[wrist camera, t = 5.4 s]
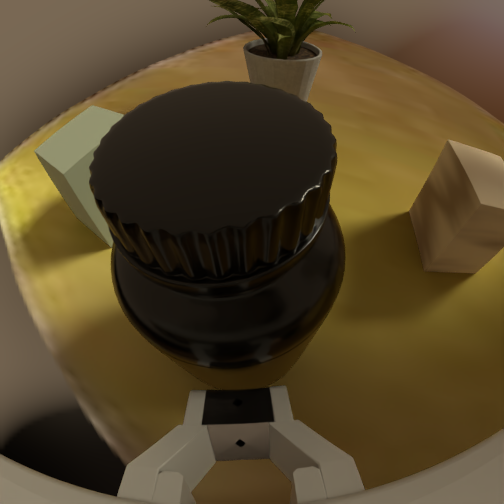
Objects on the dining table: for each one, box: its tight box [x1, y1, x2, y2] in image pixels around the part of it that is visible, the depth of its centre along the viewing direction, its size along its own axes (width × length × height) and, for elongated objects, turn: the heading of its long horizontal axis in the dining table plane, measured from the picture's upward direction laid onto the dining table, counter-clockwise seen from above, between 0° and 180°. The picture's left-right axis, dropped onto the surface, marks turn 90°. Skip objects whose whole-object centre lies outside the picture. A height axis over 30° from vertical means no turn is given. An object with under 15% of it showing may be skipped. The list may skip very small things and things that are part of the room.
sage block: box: [34, 105, 124, 248], centre depth 17 cm, size 5×5×7 cm
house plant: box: [207, 0, 353, 102], centre depth 20 cm, size 14×14×16 cm
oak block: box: [409, 140, 504, 273], centre depth 15 cm, size 5×5×7 cm
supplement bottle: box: [89, 81, 345, 390], centre depth 10 cm, size 7×7×12 cm
